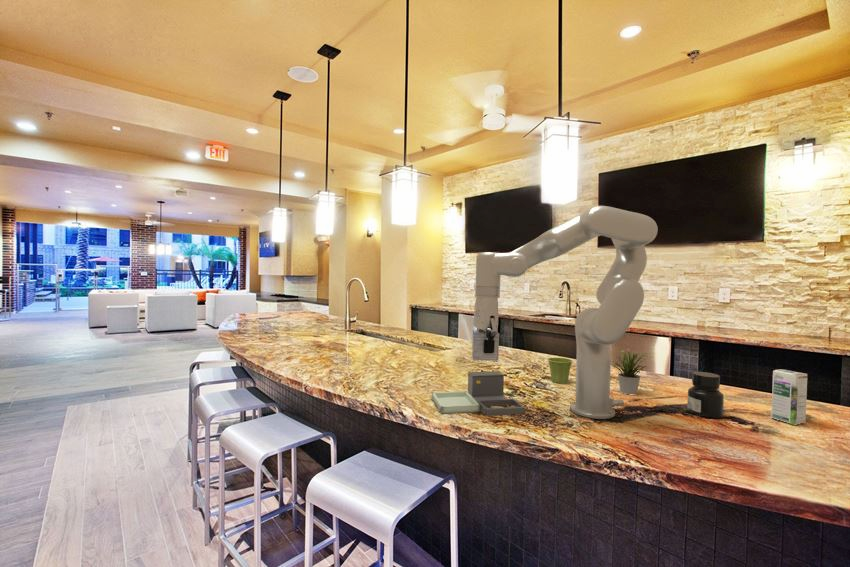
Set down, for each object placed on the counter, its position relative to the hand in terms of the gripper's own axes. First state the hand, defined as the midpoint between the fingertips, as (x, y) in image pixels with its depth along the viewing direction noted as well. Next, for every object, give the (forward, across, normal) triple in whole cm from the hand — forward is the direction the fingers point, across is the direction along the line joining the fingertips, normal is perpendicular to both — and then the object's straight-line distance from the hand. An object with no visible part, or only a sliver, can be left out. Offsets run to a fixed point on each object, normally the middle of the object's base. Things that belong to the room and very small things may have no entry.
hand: (485, 350), depth 119 cm
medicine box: (+3, 0, 0) cm, 3 cm away
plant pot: (+18, -25, +40) cm, 50 cm away
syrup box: (+16, +24, +85) cm, 89 cm away
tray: (+18, -4, -8) cm, 20 cm away
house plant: (+17, -6, +58) cm, 61 cm away
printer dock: (+18, -4, +5) cm, 19 cm away
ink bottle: (+17, +14, +66) cm, 69 cm away
